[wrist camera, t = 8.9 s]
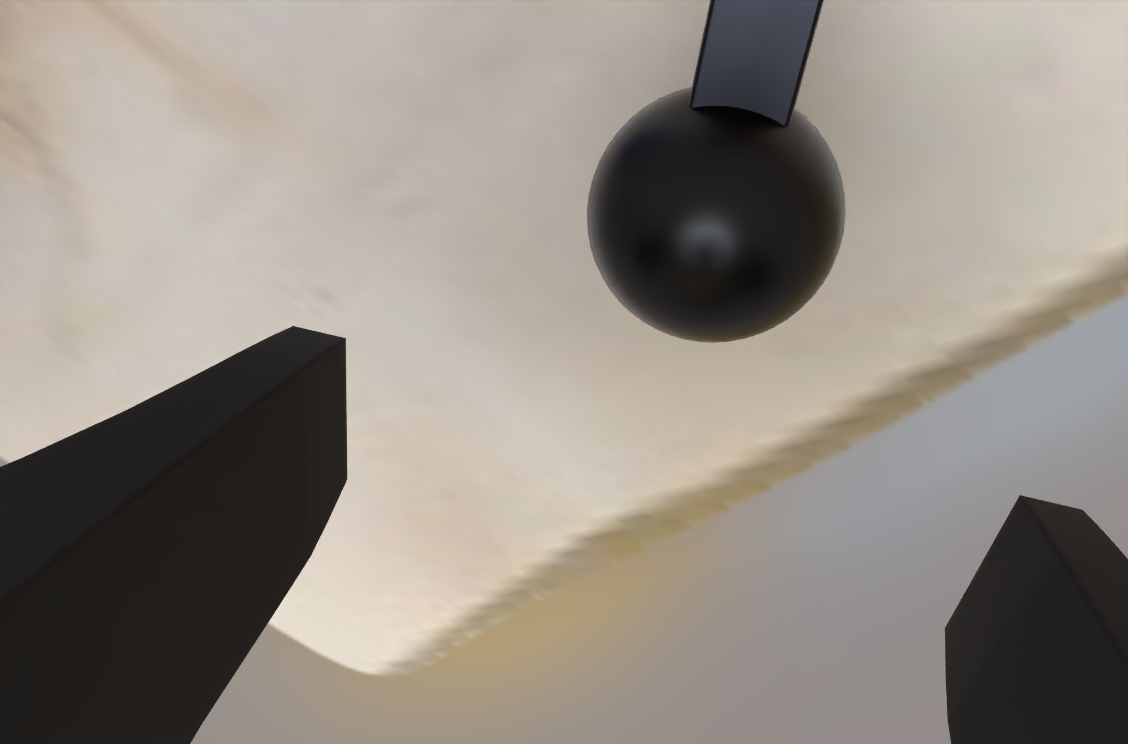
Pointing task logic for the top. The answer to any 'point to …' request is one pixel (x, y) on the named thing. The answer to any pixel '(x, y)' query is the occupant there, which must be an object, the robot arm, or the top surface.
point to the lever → (722, 186)
